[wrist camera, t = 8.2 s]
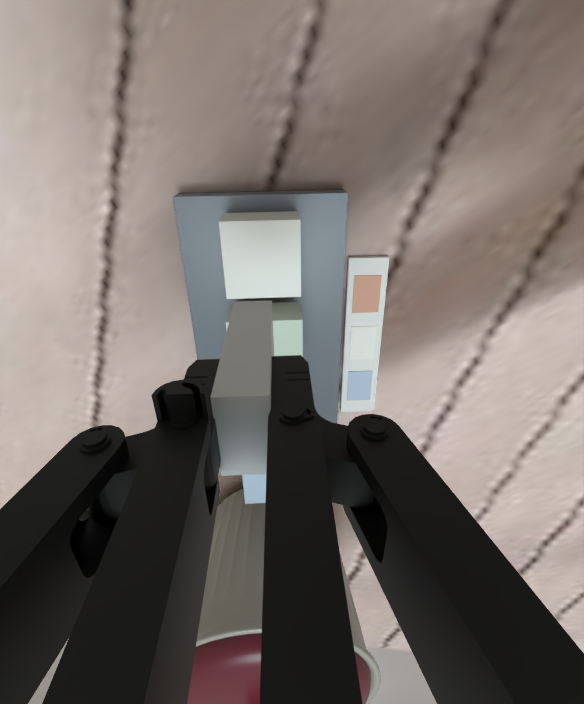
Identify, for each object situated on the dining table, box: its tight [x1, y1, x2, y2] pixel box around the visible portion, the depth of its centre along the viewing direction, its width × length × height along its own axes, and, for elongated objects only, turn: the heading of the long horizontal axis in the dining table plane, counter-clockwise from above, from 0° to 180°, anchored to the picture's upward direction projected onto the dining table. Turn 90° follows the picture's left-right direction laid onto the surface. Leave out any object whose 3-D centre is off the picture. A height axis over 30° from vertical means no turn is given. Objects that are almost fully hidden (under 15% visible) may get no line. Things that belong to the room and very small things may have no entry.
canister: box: [187, 489, 381, 704], centre depth 36 cm, size 18×18×21 cm
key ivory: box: [219, 211, 301, 299], centre depth 27 cm, size 5×5×3 cm
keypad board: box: [173, 190, 348, 424], centre depth 33 cm, size 25×12×4 cm, turn 1°
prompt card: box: [340, 256, 389, 412], centre depth 35 cm, size 15×3×1 cm, turn 1°
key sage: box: [226, 302, 303, 357], centre depth 28 cm, size 5×5×3 cm
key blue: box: [242, 474, 266, 504], centre depth 34 cm, size 5×5×3 cm
